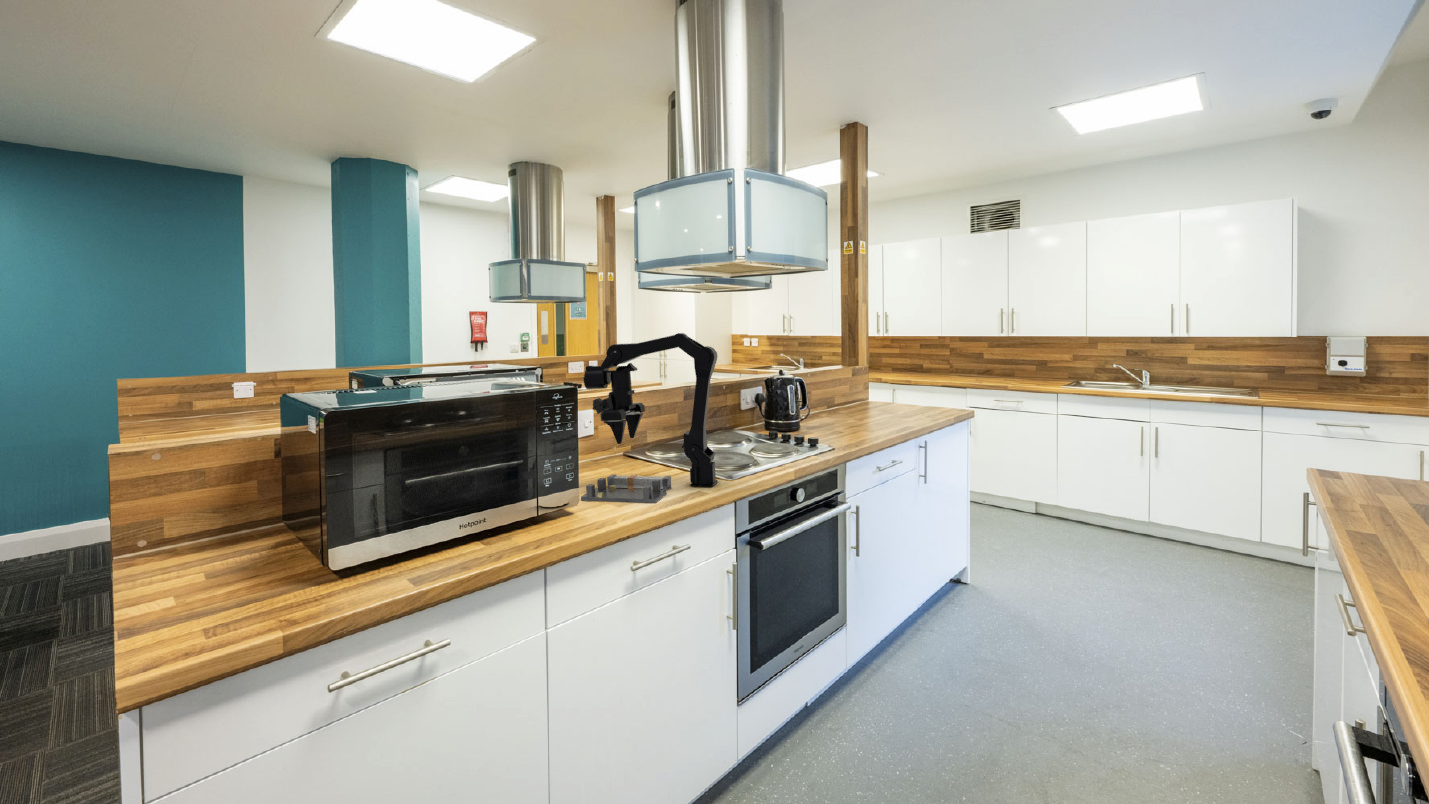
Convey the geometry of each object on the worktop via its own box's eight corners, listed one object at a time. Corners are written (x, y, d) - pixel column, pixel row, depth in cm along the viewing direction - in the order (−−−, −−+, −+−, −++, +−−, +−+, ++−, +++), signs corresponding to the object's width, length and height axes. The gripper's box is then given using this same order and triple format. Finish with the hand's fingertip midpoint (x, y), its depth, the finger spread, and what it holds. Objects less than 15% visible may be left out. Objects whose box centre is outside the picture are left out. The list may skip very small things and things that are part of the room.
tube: (671, 487, 170) (670, 475, 170) (667, 490, 167) (667, 478, 167) (612, 485, 175) (612, 474, 174) (607, 488, 171) (607, 477, 171)
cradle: (666, 494, 163) (665, 479, 163) (655, 503, 154) (654, 488, 154) (595, 491, 168) (594, 477, 168) (581, 500, 159) (580, 485, 159)
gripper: (609, 385, 183) (613, 435, 185) (581, 392, 166) (585, 447, 167) (643, 384, 181) (647, 435, 182) (618, 390, 163) (622, 446, 164)
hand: (625, 440), depth 174 cm, fingers open, 9 cm apart
